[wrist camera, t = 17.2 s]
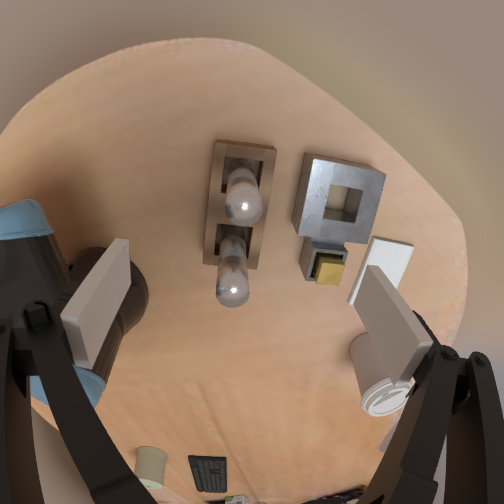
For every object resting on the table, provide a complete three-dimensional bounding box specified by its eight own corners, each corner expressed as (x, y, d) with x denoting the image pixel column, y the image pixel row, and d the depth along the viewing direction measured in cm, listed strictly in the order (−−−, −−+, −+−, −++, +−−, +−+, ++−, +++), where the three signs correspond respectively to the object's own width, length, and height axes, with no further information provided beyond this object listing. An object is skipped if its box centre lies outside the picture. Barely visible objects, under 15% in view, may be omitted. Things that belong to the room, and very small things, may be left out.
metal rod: (227, 180, 41) (222, 224, 26) (230, 157, 39) (227, 188, 25) (251, 183, 41) (260, 228, 27) (254, 160, 40) (265, 192, 25)
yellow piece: (307, 262, 45) (316, 284, 40) (312, 242, 44) (322, 262, 39) (327, 264, 46) (338, 285, 40) (332, 245, 44) (345, 265, 39)
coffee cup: (388, 320, 54) (420, 377, 40) (384, 354, 58) (410, 408, 44) (341, 333, 54) (365, 395, 41) (341, 365, 58) (361, 424, 45)
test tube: (220, 238, 44) (214, 305, 30) (223, 217, 43) (217, 278, 29) (242, 241, 45) (246, 308, 30) (245, 220, 43) (251, 281, 29)
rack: (255, 256, 46) (256, 269, 42) (205, 250, 45) (202, 264, 42) (273, 146, 39) (277, 150, 35) (216, 139, 38) (214, 142, 34)
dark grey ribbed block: (188, 453, 75) (187, 459, 73) (226, 455, 76) (226, 461, 74) (197, 488, 91) (197, 492, 89) (226, 489, 92) (226, 493, 90)
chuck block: (283, 261, 47) (287, 278, 42) (304, 152, 39) (313, 158, 35) (343, 267, 48) (353, 284, 43) (371, 166, 40) (386, 174, 36)
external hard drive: (410, 242, 47) (384, 303, 52) (370, 234, 46) (346, 299, 51) (415, 247, 45) (388, 309, 51) (375, 238, 44) (349, 305, 50)
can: (138, 455, 76) (133, 486, 65) (136, 443, 72) (130, 477, 61) (167, 460, 77) (163, 492, 66) (167, 449, 73) (163, 484, 62)
